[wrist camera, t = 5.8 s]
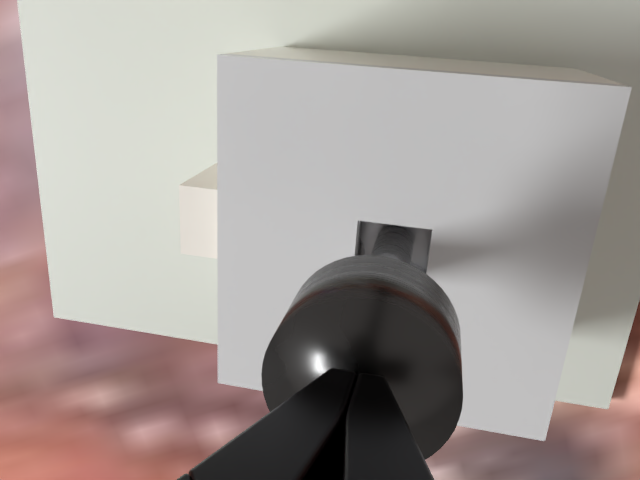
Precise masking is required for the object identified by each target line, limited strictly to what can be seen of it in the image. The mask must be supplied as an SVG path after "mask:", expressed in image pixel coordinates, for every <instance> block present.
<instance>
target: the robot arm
mask: <svg viewBox="0 0 640 480" xmlns="http://www.w3.org/2000/svg"><path fill="white" fill-rule="evenodd" d="M177 480H434V478H433V476H432V474H431V472H430V470H429V468H428V466H427V464H426V461H425V459H424V457H423V455H422V453H421V451H420V449H419V447H418V445H417V443H416V441H415V438H414V436H413V434H412V432H411V430H410V428H409V426H408V424H407V422H406V420H405V418H404V416H403V413H402V411H401V409H400V407H399V405H398V403H397V401H396V399H395V397H394V395H393V393H392V390H391V388H390V386H389V384H388V382H387V380H386V378H385V377H383V376H380V375H374V374H368V373H360V374H359V375H358V376H357V374H356V373H355V372H354V371H350V370H344V369H338V368H331V369H329V370H327V371H326V372H325V373H323V374H322V375H321V376H319V377H318V378H316V379H315V380H314V381H312V382H311V383H310V384H308V385H307V386H305V387H304V388H303V389H301V390H300V391H299V392H297V393H296V394H294V395H293V396H292V397H290V398H289V399H288V400H286V401H285V402H283V403H282V404H281V405H279V406H278V407H277V408H275V409H274V410H272V411H271V412H270V413H268V414H267V415H265V416H264V417H263V418H261V419H260V420H259V421H257V422H256V423H254V424H253V425H252V426H250V427H249V428H248V429H246V430H245V431H243V432H242V433H241V434H239V435H238V436H237V437H235V438H234V439H232V440H231V441H230V442H228V443H227V444H226V445H224V446H223V447H221V448H220V449H219V450H217V451H216V452H215V453H213V454H212V455H210V456H209V457H208V458H206V459H205V460H204V461H202V462H201V463H199V464H198V465H197V466H195V467H194V468H192V469H191V470H190V471H189V474H184V475H182V476H181V477H180V478H178V479H177Z"/></svg>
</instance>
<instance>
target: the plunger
mask: <svg viewBox="0 0 640 480" xmlns="http://www.w3.org/2000/svg"><path fill="white" fill-rule="evenodd" d="M431 233H432V230H431V229H422V228H414V227H406V226H398V225H390V224H382V223H374V222H366V221H360V230H359V241H358V252H357V256H351V257H346V258H343V259H339V260H336V261H334V262H332V263H330V264H327V265H325V266H324V267H322V268H321V269H319V270H318V271H316V272H315V273H314V274H313V275H312V276H310V277H309V278H308V279H307V281H306V282H305V283H304V284H303V285H302V287H301V288H300V290H299V291H298V293H297V295H296V296H295V298H294V300H293V302H292V303H291V305H290V307H289V309H288V311H287V312H286V314H285V316H284V318H283V320H282V321H281V323H280V325H279V327H278V328H277V330H276V332H275V334H274V336H273V337H272V339H271V341H270V343H269V345H268V347H267V350H266V352H265V356H264V359H263V363H262V373H261V376H262V388H263V393H264V397H265V400H266V403H267V406H268V408H269V410H270V412H271V411H272V410H274V409H275V408H277V407H278V406H279V405H281V404H282V403H283V402H285V401H286V400H288V399H289V398H290V397H292V396H293V395H294V394H296V393H297V392H299V391H300V390H301V389H303V388H304V387H305V386H307V385H308V384H310V383H311V382H312V381H314V380H315V379H316V378H318V377H319V376H321V375H322V374H323V373H325V372H326V371H327V370H329V369H331V368H338V369H344V370H350V371H354V372H355V373H356V374H357V376H358V375H359V374H360V373H368V374H374V375H380V376H383V377H385V378H386V380H387V382H388V384H389V386H390V388H391V390H392V393H393V395H394V397H395V399H396V401H397V403H398V405H399V407H400V409H401V411H402V413H403V416H404V418H405V420H406V422H407V424H408V426H409V428H410V430H411V432H412V434H413V436H414V438H415V441H416V443H417V445H418V447H419V449H420V451H421V453H422V455H423V457H424V459H427V458H428V457H430V456H432V455H433V454H434V453H435V452H437V451H438V450H439V449H440V448H441V447H442V446H443V445H444V444H445V443H446V442H447V440H448V439H449V438H450V436H451V435H452V433H453V432H454V430H455V428H456V426H457V423H458V421H459V418H460V414H461V411H462V404H463V381H462V357H461V335H460V325H459V321H458V317H457V314H456V311H455V309H454V306H453V305H452V303H451V301H450V299H449V297H448V296H447V295H446V293H445V292H444V291H443V289H442V288H441V287H440V286H439V285H438V284H437V283H436V282H435V281H434V280H433V279H432V278H431V277H429V276H428V275H427V274H426V269H427V262H428V254H429V247H430V240H431Z"/></svg>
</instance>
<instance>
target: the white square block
mask: <svg viewBox="0 0 640 480" xmlns="http://www.w3.org/2000/svg"><path fill="white" fill-rule="evenodd" d="M631 89H632V87H629V86H626V85H623V84H620V83H618V82H615V81H612V80H609V79H606V78H603V77H600V76H597V75H594V74H591V73H588V72H585V71H582V70H579V69H576V68H566V67H553V66H539V65H526V64H512V63H499V62H486V61H472V60H459V59H445V58H432V57H419V56H405V55H392V54H378V53H365V52H352V51H338V50H325V49H311V48H298V47H285V46H281V47H273V48H265V49H258V50H250V51H242V52H234V53H226V54H219V55H217V163H215V164H214V165H212V166H210V167H209V168H207V169H205V170H204V171H202V172H200V173H199V174H197V175H195V176H193V177H192V178H190V179H188V180H187V181H185V182H183V183H182V184H180V185H179V207H180V244H181V254H187V255H194V256H201V257H208V258H215V259H217V261H218V383H221V384H227V385H232V386H238V387H244V388H249V389H255V390H260V391H263V388H262V376H261V373H262V363H263V359H264V356H265V352H266V350H267V347H268V345H269V343H270V341H271V339H272V337H273V336H274V334H275V332H276V330H277V328H278V327H279V325H280V323H281V321H282V320H283V318H284V316H285V314H286V312H287V311H288V309H289V307H290V305H291V303H292V302H293V300H294V298H295V296H296V295H297V293H298V291H299V290H300V288H301V287H302V285H303V284H304V283H305V282H306V281H307V279H308V278H309V277H310V276H312V275H313V274H314V273H315V272H316V271H318V270H319V269H321V268H322V267H324V266H325V265H327V264H330V263H332V262H334V261H336V260H339V259H343V258H346V257H351V256H357V252H358V241H359V230H360V221H366V222H374V223H382V224H390V225H398V226H406V227H414V228H422V229H431V230H432V233H431V240H430V247H429V254H428V262H427V269H426V274H427V275H428V276H429V277H431V278H432V279H433V280H434V281H435V282H436V283H437V284H438V285H439V286H440V287H441V288H442V289H443V291H444V292H445V293H446V295H447V296H448V297H449V299H450V301H451V303H452V305H453V306H454V309H455V311H456V314H457V317H458V321H459V325H460V335H461V357H462V381H463V404H462V411H461V414H460V418H459V421H458V423H457V426H463V427H468V428H474V429H479V430H485V431H491V432H496V433H502V434H507V435H513V436H519V437H524V438H530V439H536V440H541V441H545V439H546V435H547V431H548V426H549V422H550V418H551V414H552V410H553V406H554V402H555V398H556V394H557V390H558V386H559V382H560V378H561V374H562V369H563V365H564V361H565V357H566V353H567V349H568V345H569V341H570V337H571V333H572V329H573V325H574V321H575V317H576V313H577V308H578V304H579V300H580V296H581V292H582V288H583V284H584V280H585V276H586V272H587V268H588V264H589V260H590V256H591V252H592V247H593V243H594V239H595V235H596V231H597V227H598V223H599V219H600V215H601V211H602V207H603V203H604V199H605V195H606V190H607V186H608V182H609V178H610V174H611V170H612V166H613V162H614V158H615V154H616V150H617V146H618V142H619V138H620V134H621V129H622V125H623V121H624V117H625V113H626V109H627V105H628V101H629V97H630V93H631Z"/></svg>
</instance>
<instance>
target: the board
mask: <svg viewBox="0 0 640 480" xmlns="http://www.w3.org/2000/svg"><path fill="white" fill-rule="evenodd" d="M17 3H18V12H19V20H20V29H21V38H22V46H23V55H24V63H25V72H26V81H27V89H28V98H29V107H30V115H31V124H32V132H33V141H34V150H35V158H36V167H37V176H38V184H39V193H40V201H41V210H42V219H43V227H44V236H45V245H46V253H47V262H48V270H49V279H50V288H51V296H52V305H53V314H54V317H56V318H62V319H68V320H74V321H80V322H86V323H92V324H98V325H104V326H110V327H116V328H122V329H128V330H134V331H140V332H146V333H152V334H158V335H164V336H170V337H176V338H182V339H188V340H194V341H200V342H206V343H212V344H218V261H217V259H215V258H208V257H201V256H194V255H187V254H181V244H180V207H179V185H180V184H182V183H183V182H185V181H187V180H188V179H190V178H192V177H193V176H195V175H197V174H199V173H200V172H202V171H204V170H205V169H207V168H209V167H210V166H212V165H214V164H215V163H217V55H219V54H226V53H234V52H242V51H250V50H258V49H265V48H273V47H281V46H285V47H298V48H311V49H325V50H338V51H352V52H365V53H378V54H392V55H405V56H419V57H432V58H445V59H459V60H472V61H486V62H499V63H512V64H526V65H539V66H553V67H566V68H576V69H579V70H582V71H585V72H588V73H591V74H594V75H597V76H600V77H603V78H606V79H609V80H612V81H615V82H618V83H620V84H623V85H626V86H629V87H632V89H631V93H630V97H629V101H628V105H627V109H626V113H625V117H624V121H623V125H622V129H621V134H620V138H619V142H618V146H617V150H616V154H615V158H614V162H613V166H612V170H611V174H610V178H609V182H608V186H607V190H606V195H605V199H604V203H603V207H602V211H601V215H600V219H599V223H598V227H597V231H596V235H595V239H594V243H593V247H592V252H591V256H590V260H589V264H588V268H587V272H586V276H585V280H584V284H583V288H582V292H581V296H580V300H579V304H578V308H577V313H576V317H575V321H574V325H573V329H572V333H571V337H570V341H569V345H568V349H567V353H566V357H565V361H564V365H563V369H562V374H561V378H560V382H559V386H558V390H557V394H556V398H555V401H561V402H567V403H573V404H579V405H585V406H591V407H597V408H603V409H608V408H609V405H610V401H611V398H612V394H613V391H614V387H615V384H616V380H617V377H618V373H619V370H620V366H621V363H622V359H623V356H624V352H625V349H626V345H627V342H628V338H629V335H630V331H631V328H632V324H633V321H634V317H635V314H636V310H637V307H638V303H639V300H640V0H17Z"/></svg>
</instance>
